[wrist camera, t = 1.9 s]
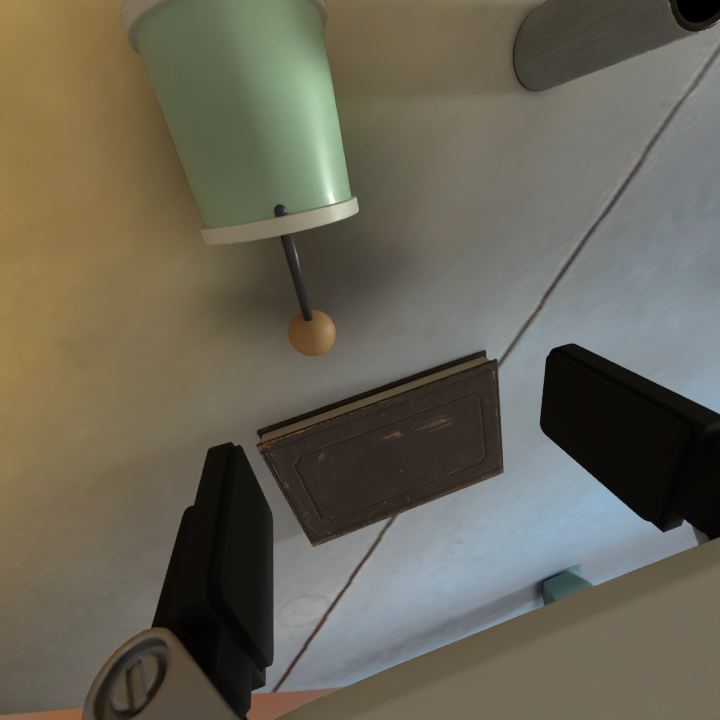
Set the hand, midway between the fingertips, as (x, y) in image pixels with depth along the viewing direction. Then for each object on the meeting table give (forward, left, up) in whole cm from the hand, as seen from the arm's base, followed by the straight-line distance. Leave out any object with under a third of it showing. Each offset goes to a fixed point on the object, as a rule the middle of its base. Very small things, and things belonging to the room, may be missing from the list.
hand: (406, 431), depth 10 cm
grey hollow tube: (-12, +18, -19) cm, 29 cm away
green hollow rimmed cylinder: (-5, -2, -19) cm, 20 cm away
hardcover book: (+19, +3, -19) cm, 27 cm away
